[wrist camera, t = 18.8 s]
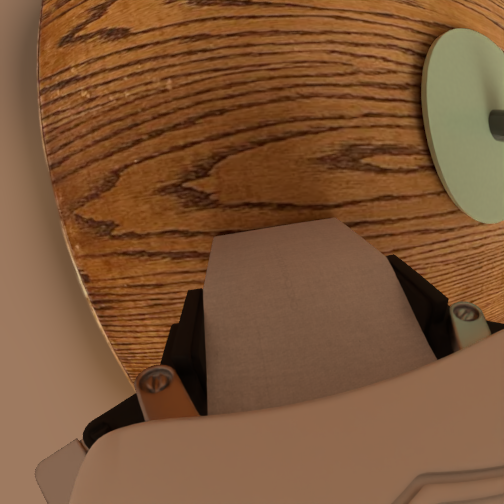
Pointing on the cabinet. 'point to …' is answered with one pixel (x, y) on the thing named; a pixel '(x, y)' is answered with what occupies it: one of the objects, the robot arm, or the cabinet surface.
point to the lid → (466, 120)
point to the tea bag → (303, 317)
